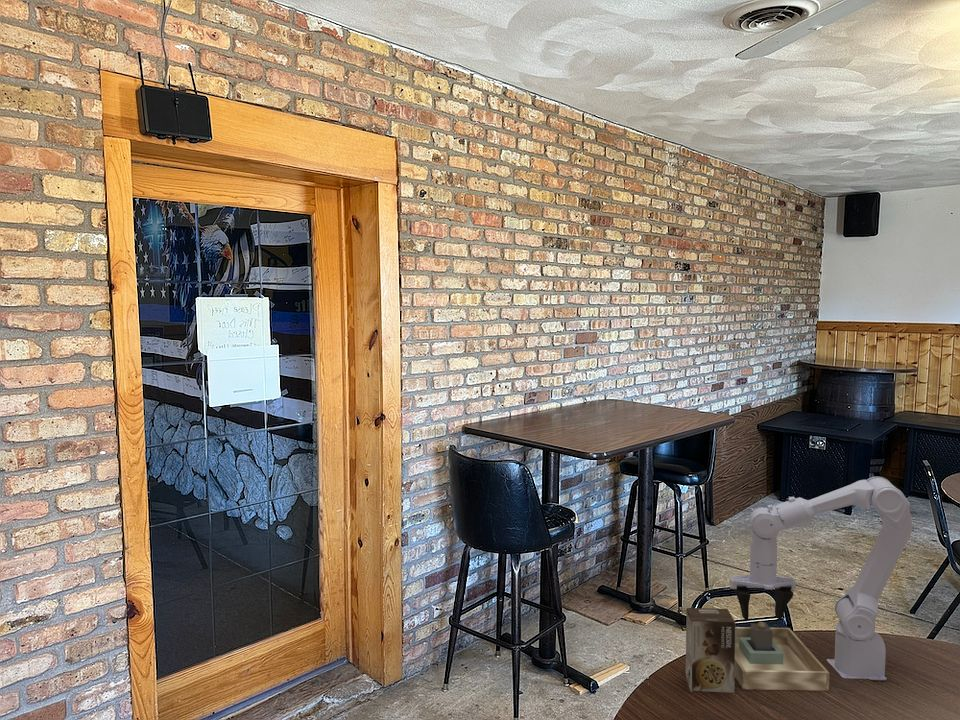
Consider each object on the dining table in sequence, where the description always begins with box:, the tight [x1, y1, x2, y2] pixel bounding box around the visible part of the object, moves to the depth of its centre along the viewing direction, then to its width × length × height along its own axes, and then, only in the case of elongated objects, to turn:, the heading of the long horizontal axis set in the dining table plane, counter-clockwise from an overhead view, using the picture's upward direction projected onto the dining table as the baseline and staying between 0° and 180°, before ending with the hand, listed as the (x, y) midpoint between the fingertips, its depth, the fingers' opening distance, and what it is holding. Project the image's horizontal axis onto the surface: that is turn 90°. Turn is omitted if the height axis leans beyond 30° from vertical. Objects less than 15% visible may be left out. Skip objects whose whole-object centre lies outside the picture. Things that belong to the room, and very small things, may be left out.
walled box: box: [735, 626, 830, 692], centre depth 152 cm, size 18×20×4 cm
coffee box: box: [685, 607, 736, 694], centre depth 144 cm, size 9×6×16 cm
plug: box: [750, 621, 773, 651], centre depth 155 cm, size 4×4×8 cm
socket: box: [739, 637, 784, 664], centre depth 156 cm, size 7×7×2 cm
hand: (761, 618), depth 155 cm, fingers open, 7 cm apart
